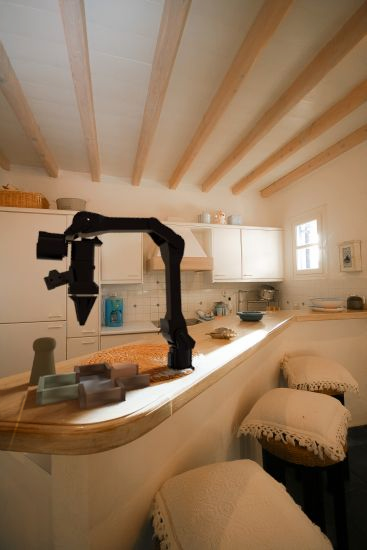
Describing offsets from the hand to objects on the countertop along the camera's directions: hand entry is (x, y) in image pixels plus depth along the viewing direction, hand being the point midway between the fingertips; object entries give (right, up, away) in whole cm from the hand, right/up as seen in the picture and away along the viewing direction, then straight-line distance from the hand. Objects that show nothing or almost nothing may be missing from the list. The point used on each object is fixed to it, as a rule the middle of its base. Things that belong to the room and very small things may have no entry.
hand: (80, 323), depth 62 cm
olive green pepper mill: (-9, -15, -1) cm, 17 cm away
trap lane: (+6, -14, -5) cm, 16 cm away
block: (+11, -14, -2) cm, 18 cm away
